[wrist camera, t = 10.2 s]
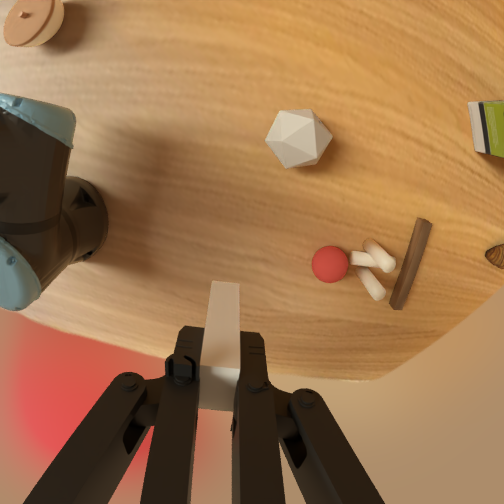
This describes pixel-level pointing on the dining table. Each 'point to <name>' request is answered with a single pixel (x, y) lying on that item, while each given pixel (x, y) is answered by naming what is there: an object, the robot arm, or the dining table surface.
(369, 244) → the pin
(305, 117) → the die
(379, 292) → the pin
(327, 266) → the ball
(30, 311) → the dining table surface
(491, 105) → the tea box
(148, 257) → the dining table surface
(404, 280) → the back rail
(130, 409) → the robot arm
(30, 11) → the lidded jar
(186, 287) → the dining table surface
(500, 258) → the croissant
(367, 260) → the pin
